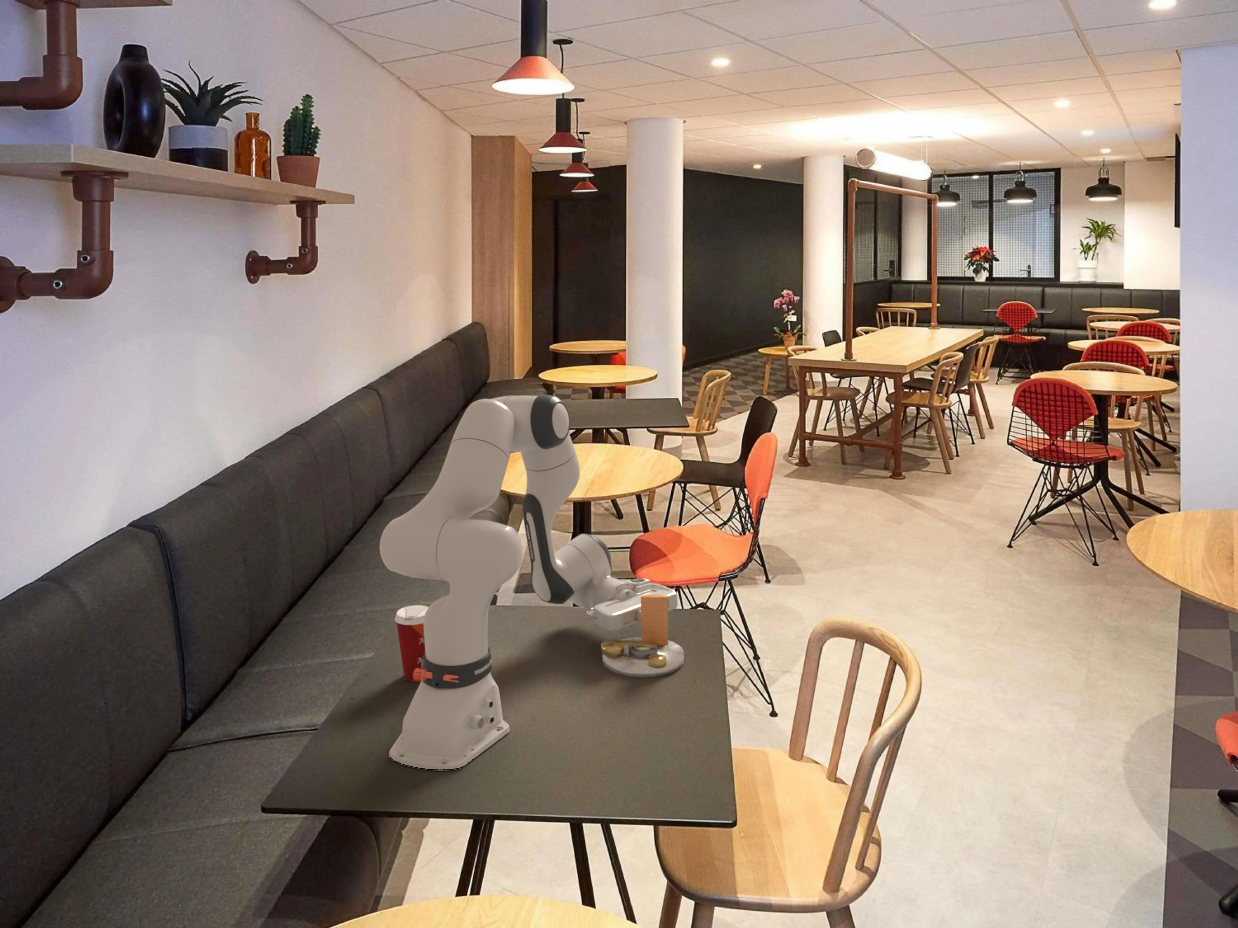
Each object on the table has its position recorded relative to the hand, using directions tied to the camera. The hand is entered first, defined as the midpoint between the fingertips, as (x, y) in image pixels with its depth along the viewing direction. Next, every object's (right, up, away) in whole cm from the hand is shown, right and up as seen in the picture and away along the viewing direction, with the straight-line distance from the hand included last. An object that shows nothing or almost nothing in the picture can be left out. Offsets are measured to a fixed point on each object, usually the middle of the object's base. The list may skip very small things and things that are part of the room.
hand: (661, 618), depth 199 cm
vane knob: (-6, -7, 0) cm, 9 cm away
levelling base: (-4, -9, 0) cm, 9 cm away
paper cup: (-50, -11, -5) cm, 51 cm away
